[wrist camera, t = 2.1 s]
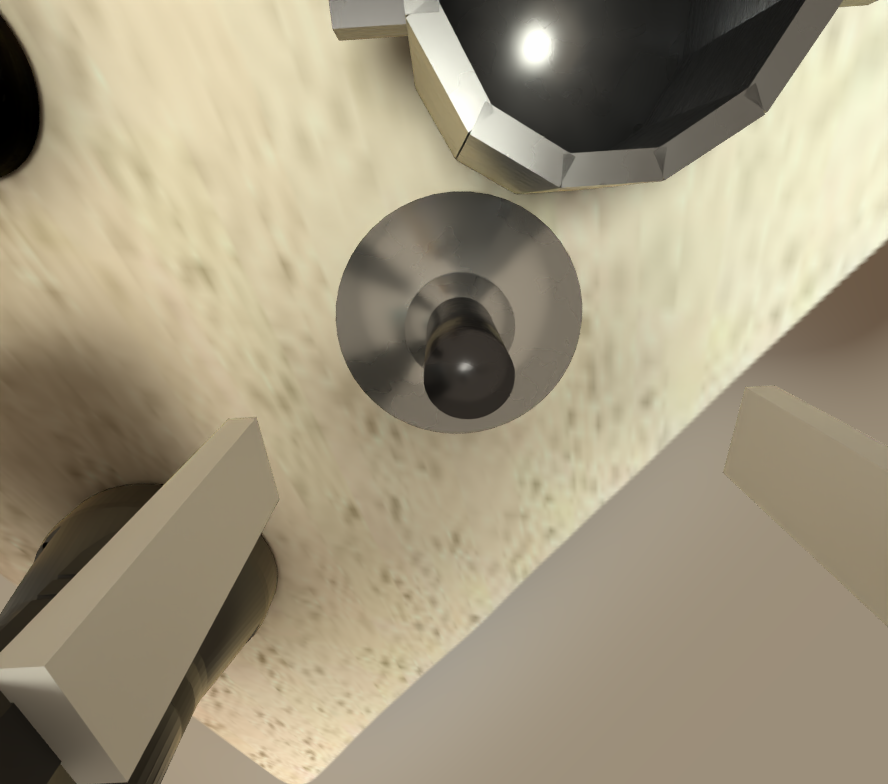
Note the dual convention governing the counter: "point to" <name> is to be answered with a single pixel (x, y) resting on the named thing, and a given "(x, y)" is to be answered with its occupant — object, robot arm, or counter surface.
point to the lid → (459, 312)
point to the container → (16, 103)
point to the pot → (592, 78)
